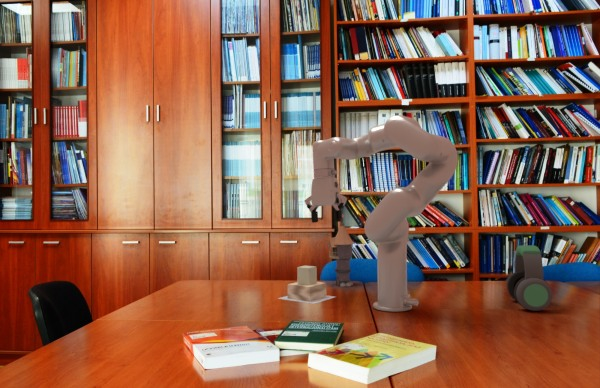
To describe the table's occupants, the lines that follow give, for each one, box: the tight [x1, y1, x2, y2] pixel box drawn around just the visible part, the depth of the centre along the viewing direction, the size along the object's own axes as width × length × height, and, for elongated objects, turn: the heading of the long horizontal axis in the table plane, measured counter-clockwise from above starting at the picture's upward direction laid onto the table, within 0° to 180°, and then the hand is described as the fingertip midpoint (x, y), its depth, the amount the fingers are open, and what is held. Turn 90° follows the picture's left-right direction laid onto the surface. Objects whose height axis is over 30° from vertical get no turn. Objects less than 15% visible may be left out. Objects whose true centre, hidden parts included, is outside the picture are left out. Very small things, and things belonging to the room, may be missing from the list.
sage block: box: [296, 265, 318, 285], centre depth 179 cm, size 5×5×6 cm
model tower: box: [326, 213, 355, 288], centre depth 208 cm, size 10×11×30 cm
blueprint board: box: [277, 294, 336, 304], centre depth 179 cm, size 16×14×1 cm
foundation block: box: [286, 281, 327, 302], centre depth 179 cm, size 10×10×5 cm
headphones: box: [506, 244, 553, 312], centre depth 165 cm, size 19×11×20 cm, turn 168°
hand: (326, 222), depth 181 cm, fingers open, 9 cm apart
